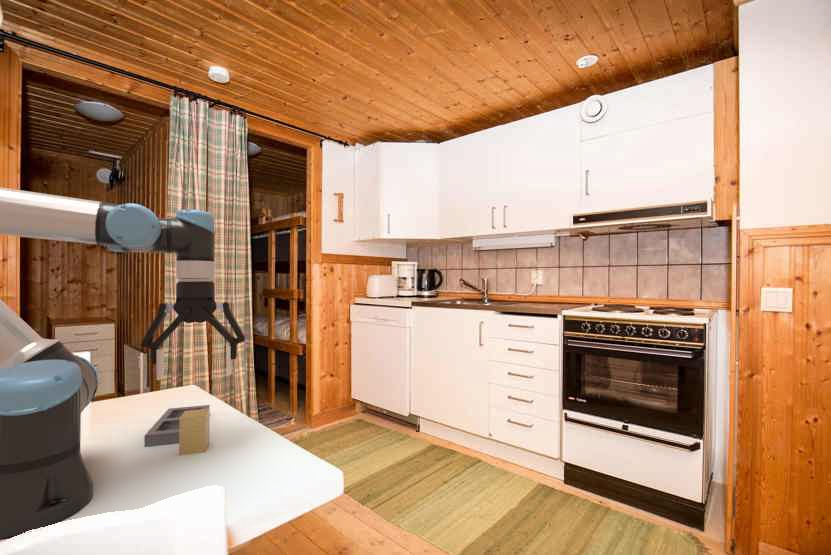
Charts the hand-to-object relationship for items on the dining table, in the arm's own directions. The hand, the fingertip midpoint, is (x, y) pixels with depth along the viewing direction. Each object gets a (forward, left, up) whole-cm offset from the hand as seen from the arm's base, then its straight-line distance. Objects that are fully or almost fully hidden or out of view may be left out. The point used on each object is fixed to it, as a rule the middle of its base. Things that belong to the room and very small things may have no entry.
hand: (195, 376), depth 89 cm
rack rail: (+15, +6, -16) cm, 23 cm away
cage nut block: (0, 0, -16) cm, 16 cm away
